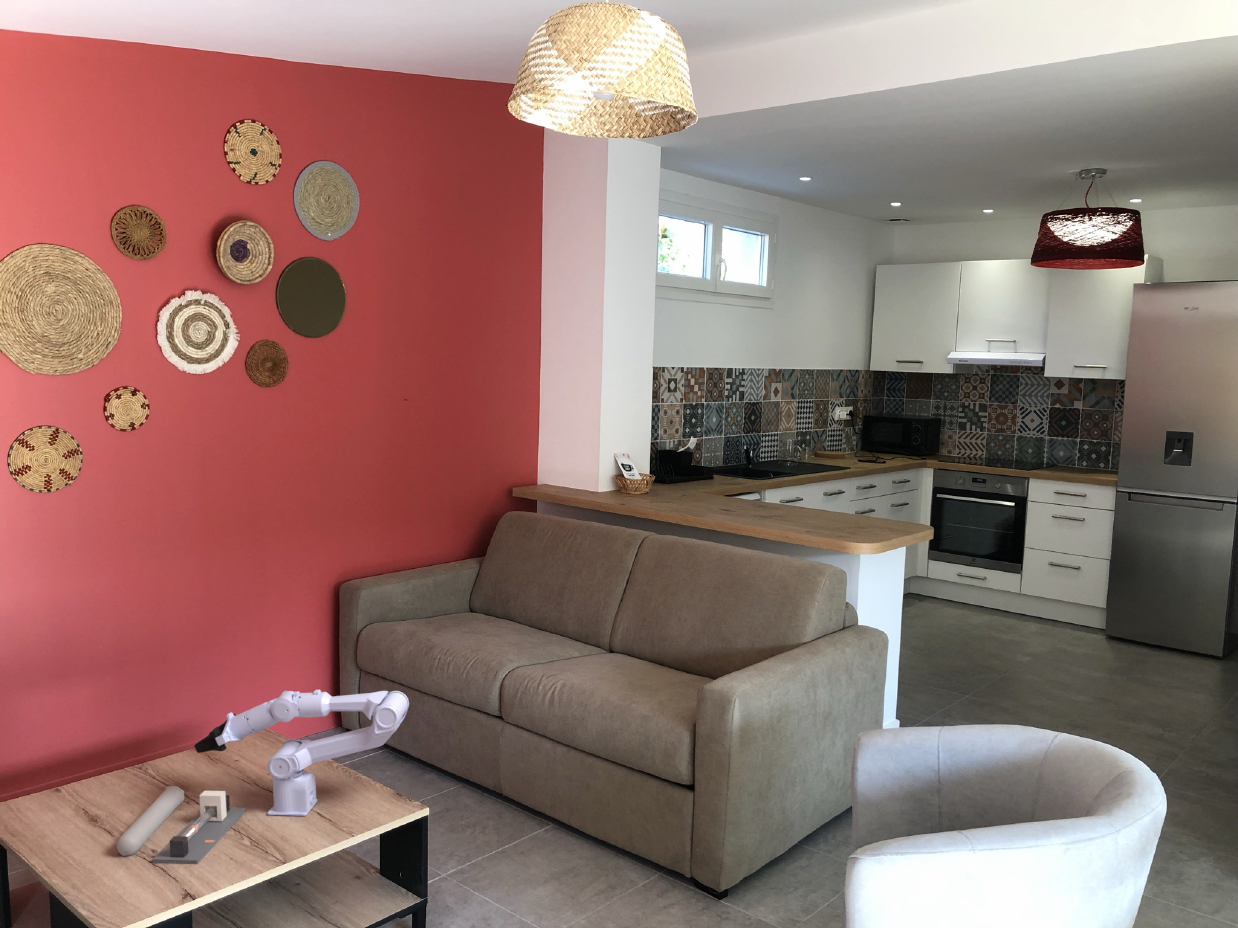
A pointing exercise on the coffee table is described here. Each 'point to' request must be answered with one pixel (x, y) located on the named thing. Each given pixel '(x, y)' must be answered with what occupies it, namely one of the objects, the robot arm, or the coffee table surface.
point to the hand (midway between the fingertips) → (203, 742)
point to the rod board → (198, 836)
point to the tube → (150, 821)
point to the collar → (214, 804)
